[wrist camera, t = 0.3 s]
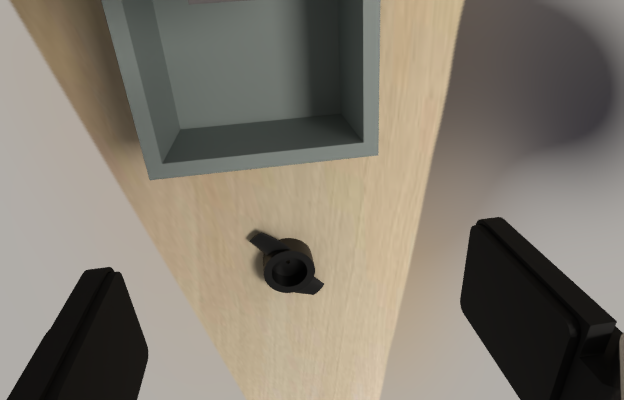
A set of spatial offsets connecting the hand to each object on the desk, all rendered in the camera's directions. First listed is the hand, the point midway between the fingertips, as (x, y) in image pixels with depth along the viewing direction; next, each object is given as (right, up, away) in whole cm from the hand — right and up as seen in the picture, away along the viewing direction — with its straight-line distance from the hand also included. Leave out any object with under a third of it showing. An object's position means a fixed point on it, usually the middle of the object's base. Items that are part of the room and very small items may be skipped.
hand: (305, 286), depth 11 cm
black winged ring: (-3, -4, +38) cm, 38 cm away
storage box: (-5, +16, +26) cm, 31 cm away
